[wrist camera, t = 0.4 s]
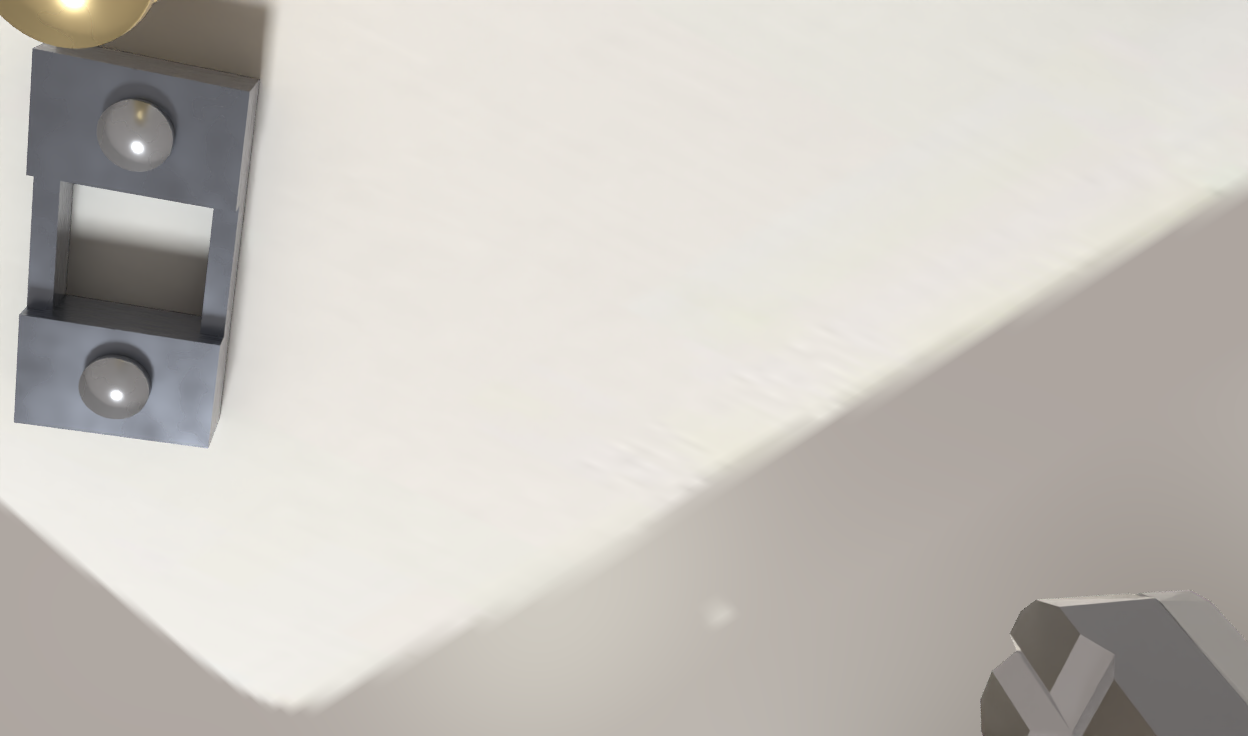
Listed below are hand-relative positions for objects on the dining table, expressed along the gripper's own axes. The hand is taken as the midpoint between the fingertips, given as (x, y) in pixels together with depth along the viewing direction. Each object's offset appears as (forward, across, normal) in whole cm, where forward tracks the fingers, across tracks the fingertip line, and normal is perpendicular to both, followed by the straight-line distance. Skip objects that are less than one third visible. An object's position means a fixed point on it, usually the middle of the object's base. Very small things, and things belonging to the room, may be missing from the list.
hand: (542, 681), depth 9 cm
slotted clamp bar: (+43, +8, +19) cm, 47 cm away
